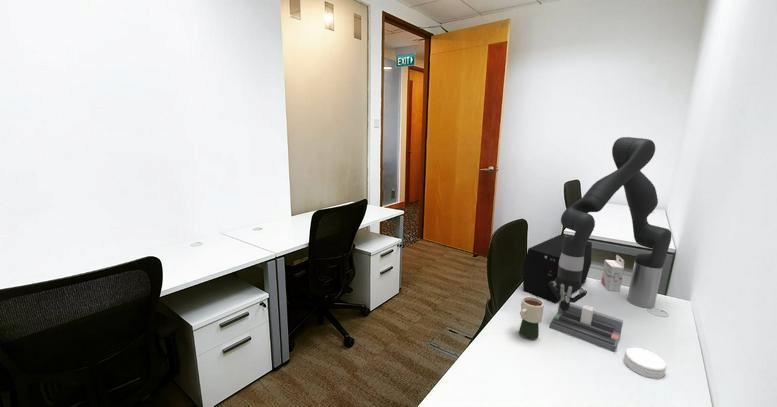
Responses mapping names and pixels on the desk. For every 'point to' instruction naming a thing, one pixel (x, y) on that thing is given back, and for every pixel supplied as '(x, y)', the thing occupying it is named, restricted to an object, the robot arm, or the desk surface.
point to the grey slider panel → (589, 327)
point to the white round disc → (645, 362)
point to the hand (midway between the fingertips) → (564, 310)
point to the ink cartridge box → (613, 274)
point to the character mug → (531, 316)
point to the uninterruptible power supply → (548, 267)
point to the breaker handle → (587, 314)
